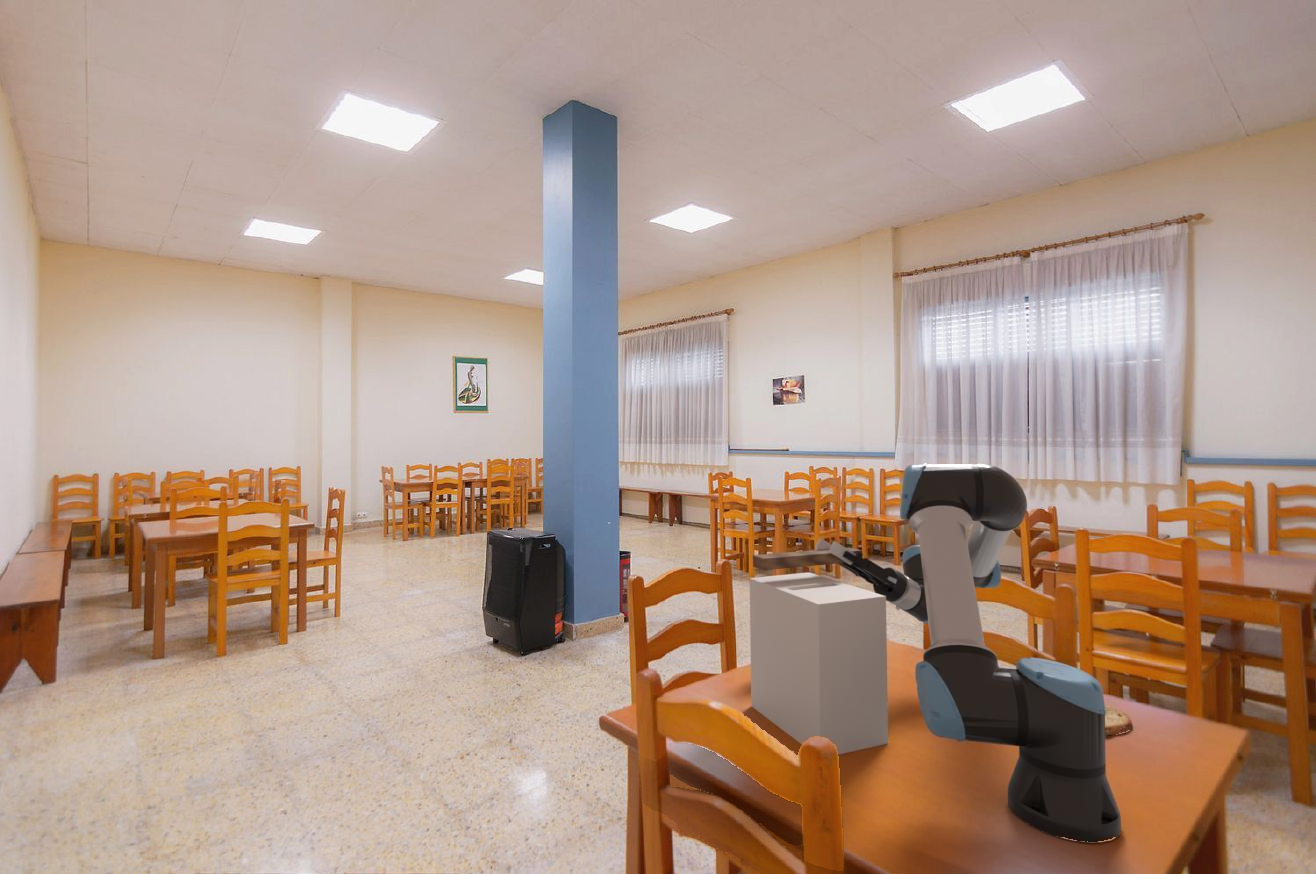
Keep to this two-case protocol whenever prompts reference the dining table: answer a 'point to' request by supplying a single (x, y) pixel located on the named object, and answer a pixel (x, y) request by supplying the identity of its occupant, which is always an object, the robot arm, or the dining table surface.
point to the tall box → (820, 659)
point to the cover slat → (797, 559)
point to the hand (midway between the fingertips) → (825, 545)
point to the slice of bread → (1116, 721)
